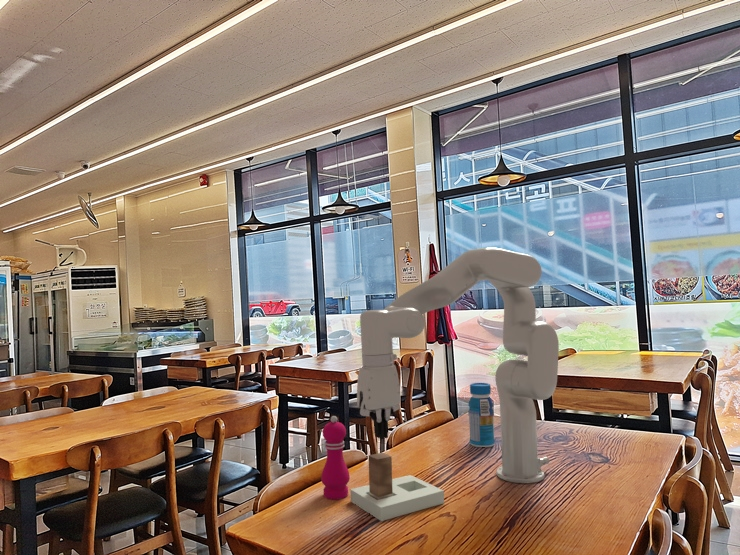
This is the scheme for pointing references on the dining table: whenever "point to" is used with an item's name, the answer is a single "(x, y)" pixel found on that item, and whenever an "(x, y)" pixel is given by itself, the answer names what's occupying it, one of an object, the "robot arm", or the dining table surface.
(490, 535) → the dining table surface
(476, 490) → the dining table surface
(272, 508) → the dining table surface
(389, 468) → the peg
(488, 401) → the beverage bottle
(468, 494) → the dining table surface
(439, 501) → the board
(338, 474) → the pepper mill
